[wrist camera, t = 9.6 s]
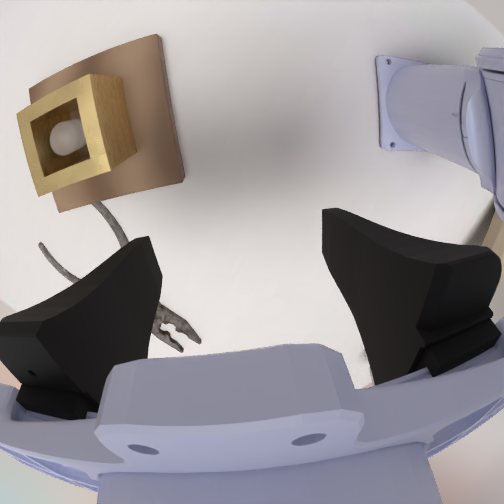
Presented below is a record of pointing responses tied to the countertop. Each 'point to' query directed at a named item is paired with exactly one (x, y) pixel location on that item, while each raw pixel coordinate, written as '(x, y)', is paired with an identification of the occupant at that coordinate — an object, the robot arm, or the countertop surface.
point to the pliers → (162, 312)
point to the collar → (94, 126)
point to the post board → (141, 117)
